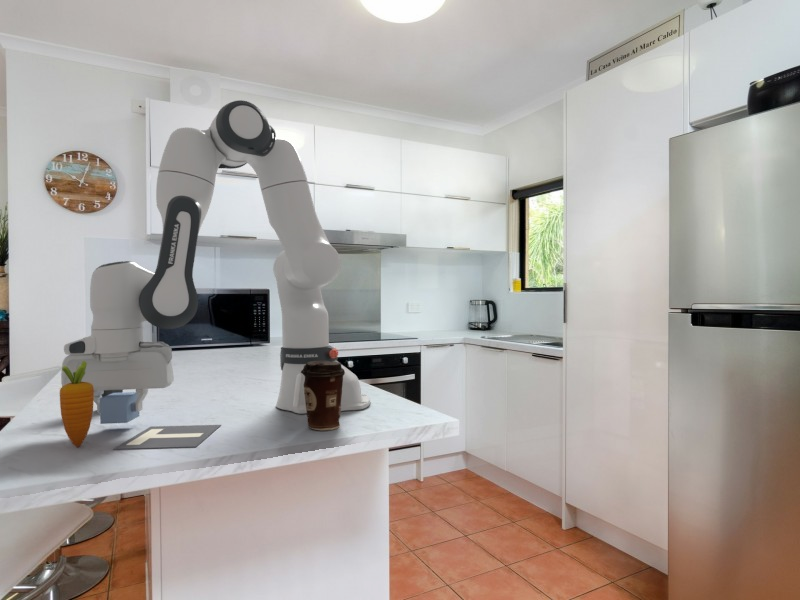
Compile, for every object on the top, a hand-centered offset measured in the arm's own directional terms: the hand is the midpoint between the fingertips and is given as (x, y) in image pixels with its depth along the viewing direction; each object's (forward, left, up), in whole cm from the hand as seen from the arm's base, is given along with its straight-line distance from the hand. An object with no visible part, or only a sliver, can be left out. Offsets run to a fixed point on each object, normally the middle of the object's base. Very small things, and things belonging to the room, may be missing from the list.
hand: (120, 411), depth 94 cm
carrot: (+2, +11, -4) cm, 12 cm away
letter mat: (-13, +6, -4) cm, 14 cm away
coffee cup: (-40, +2, -4) cm, 41 cm away
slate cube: (0, 0, -2) cm, 2 cm away
